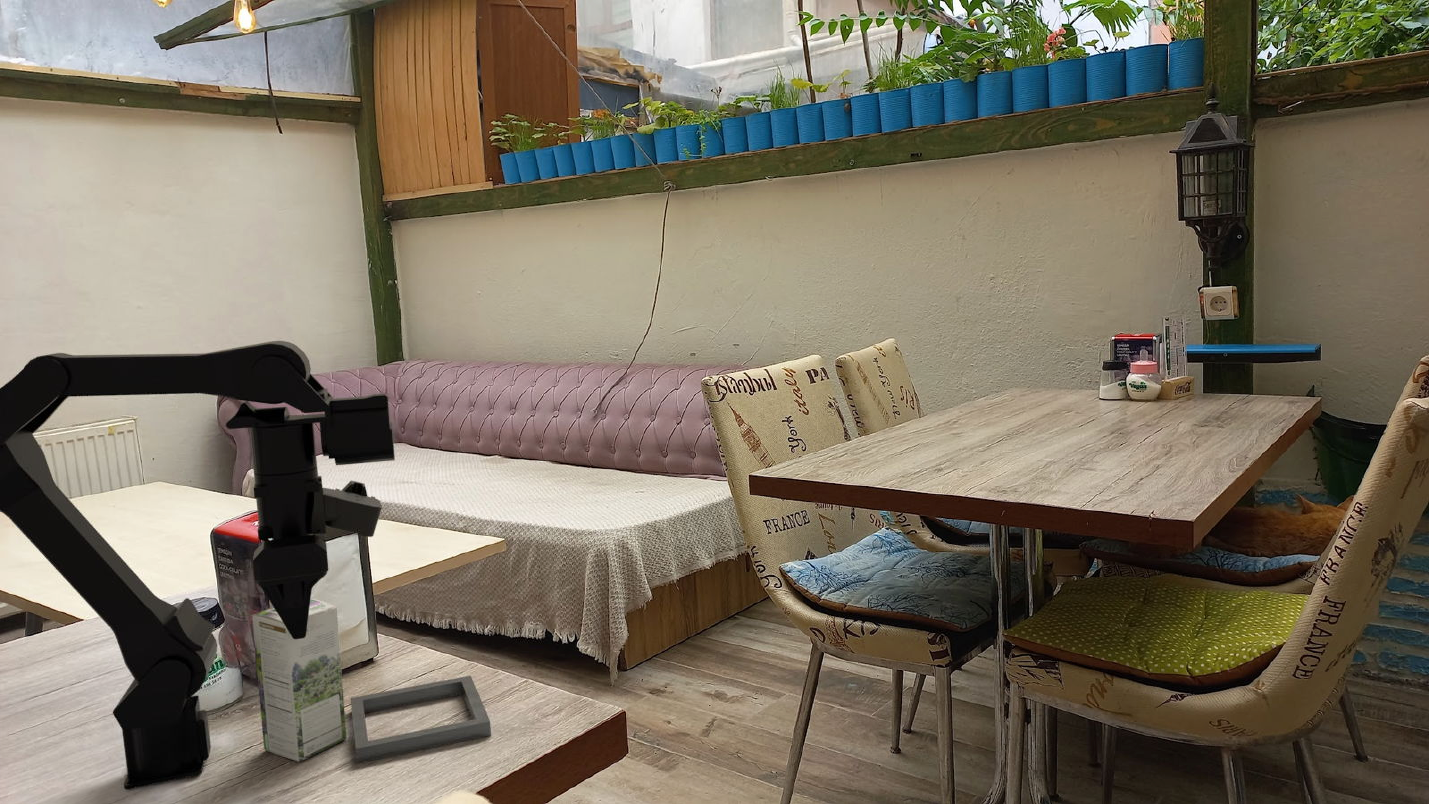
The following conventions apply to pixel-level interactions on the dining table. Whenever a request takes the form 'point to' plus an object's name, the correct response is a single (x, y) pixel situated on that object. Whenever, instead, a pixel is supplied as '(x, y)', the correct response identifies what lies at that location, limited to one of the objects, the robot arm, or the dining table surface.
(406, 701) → the collar socket
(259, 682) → the syrup box
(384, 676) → the dining table surface
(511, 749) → the dining table surface
